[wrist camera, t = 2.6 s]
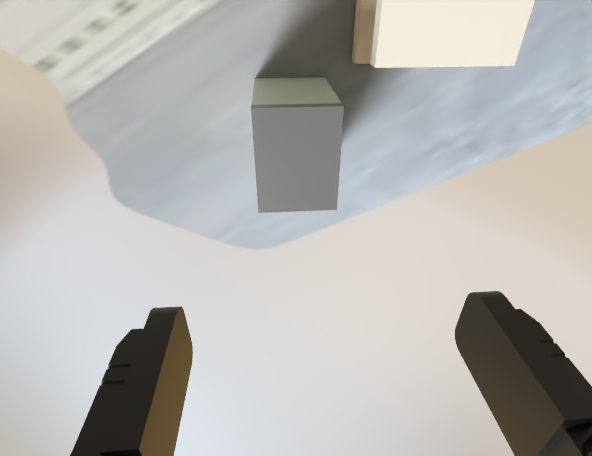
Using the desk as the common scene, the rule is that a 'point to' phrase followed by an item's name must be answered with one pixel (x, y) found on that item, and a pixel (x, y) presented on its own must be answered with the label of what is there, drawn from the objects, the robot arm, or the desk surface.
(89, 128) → the desk surface
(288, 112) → the block
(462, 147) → the desk surface
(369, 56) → the rail stand
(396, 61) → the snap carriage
